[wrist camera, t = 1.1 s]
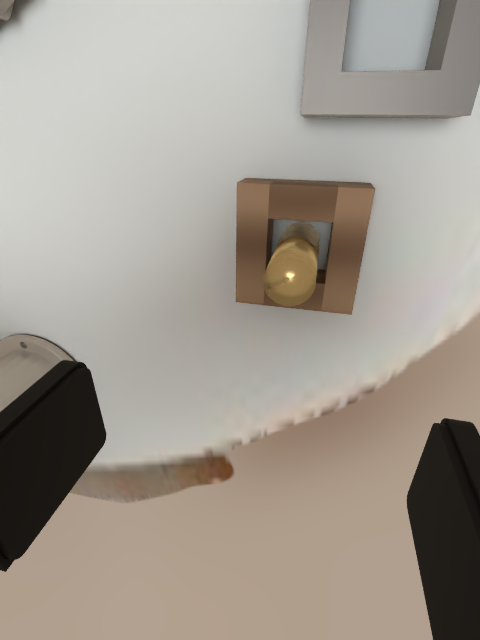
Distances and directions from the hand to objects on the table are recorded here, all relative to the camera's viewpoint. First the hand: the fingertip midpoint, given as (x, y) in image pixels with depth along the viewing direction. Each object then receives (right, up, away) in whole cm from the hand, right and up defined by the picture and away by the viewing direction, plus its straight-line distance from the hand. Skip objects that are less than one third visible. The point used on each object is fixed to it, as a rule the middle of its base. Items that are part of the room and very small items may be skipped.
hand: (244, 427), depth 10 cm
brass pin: (+5, +9, +18) cm, 21 cm away
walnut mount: (+5, +9, +18) cm, 21 cm away
